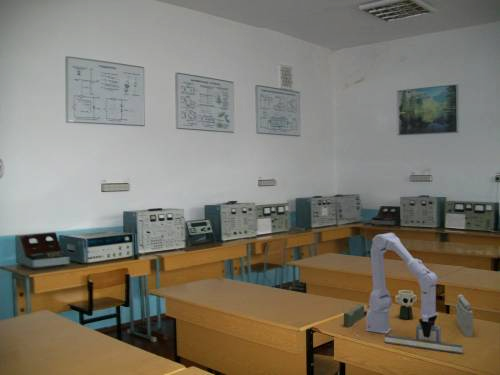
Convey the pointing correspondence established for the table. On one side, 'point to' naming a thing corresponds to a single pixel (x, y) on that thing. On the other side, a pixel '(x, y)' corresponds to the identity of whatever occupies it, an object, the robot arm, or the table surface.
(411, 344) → the rail
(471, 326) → the geiger counter
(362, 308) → the handheld radio
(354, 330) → the table surface
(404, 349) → the table surface
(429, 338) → the box
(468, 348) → the table surface
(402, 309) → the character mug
